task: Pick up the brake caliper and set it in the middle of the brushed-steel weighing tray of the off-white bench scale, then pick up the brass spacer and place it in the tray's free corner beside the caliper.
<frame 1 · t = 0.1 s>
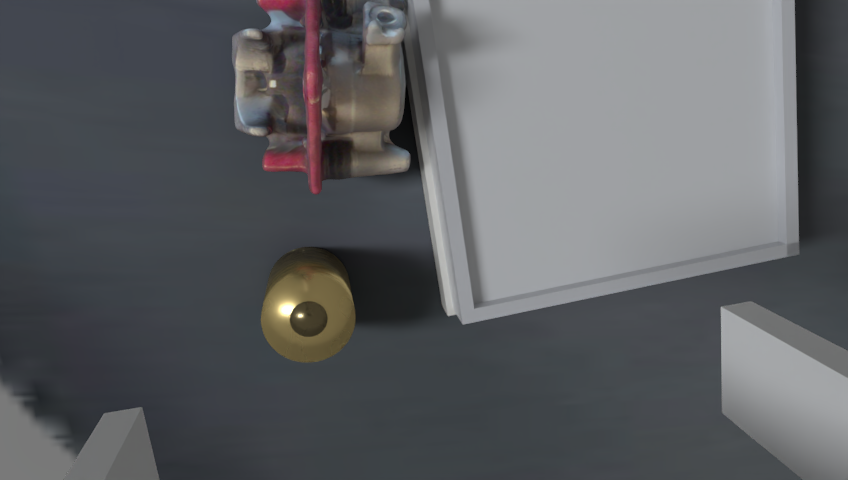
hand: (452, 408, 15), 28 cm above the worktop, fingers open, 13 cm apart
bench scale: (587, 105, 43), on the worktop
brass spacer: (309, 285, 43), on the worktop
brake caliper: (321, 83, 40), on the worktop
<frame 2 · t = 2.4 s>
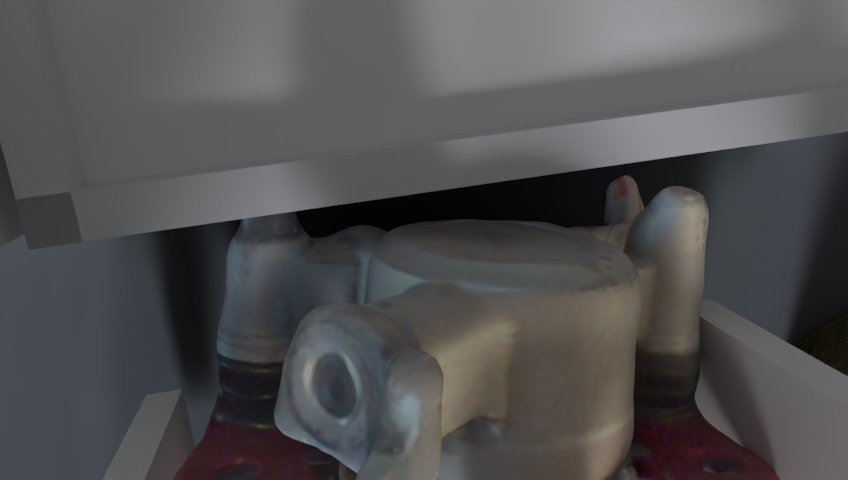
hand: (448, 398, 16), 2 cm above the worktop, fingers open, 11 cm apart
brake caliper: (441, 349, 18), on the worktop, touching gripper
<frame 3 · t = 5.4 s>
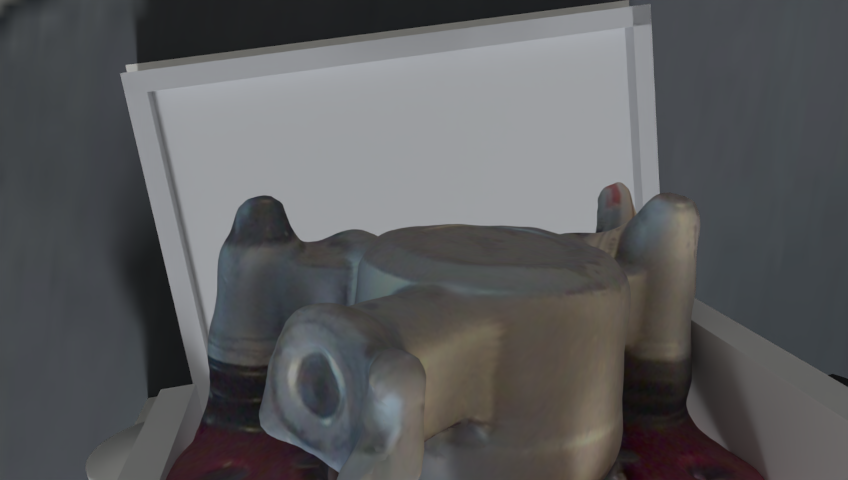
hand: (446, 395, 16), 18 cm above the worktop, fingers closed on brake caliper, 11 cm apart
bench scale: (415, 262, 34), on the worktop
brake caliper: (434, 355, 18), point 17 cm above the worktop, touching gripper
when the fingers open (7 cm above the worktop, at t = 8.2 s): brake caliper stays where it is, resting on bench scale.
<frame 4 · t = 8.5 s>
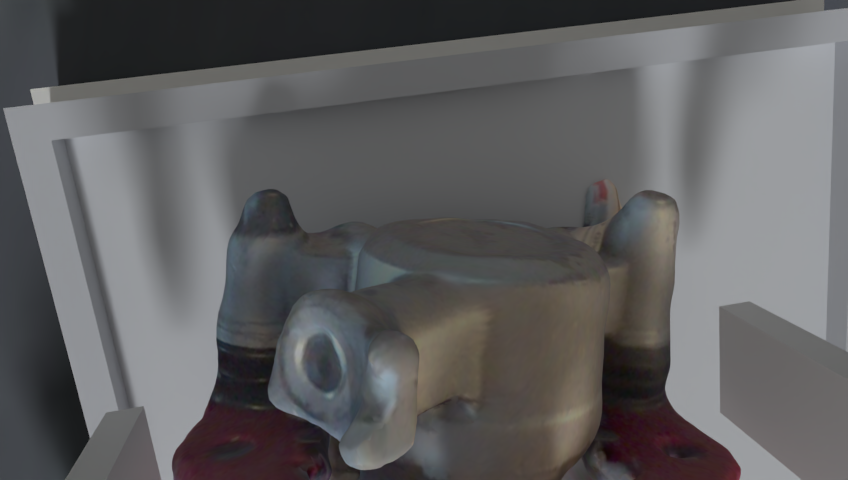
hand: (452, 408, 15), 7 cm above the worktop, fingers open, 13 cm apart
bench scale: (477, 378, 23), on the worktop
brake caliper: (429, 341, 19), point 4 cm above the worktop, touching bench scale
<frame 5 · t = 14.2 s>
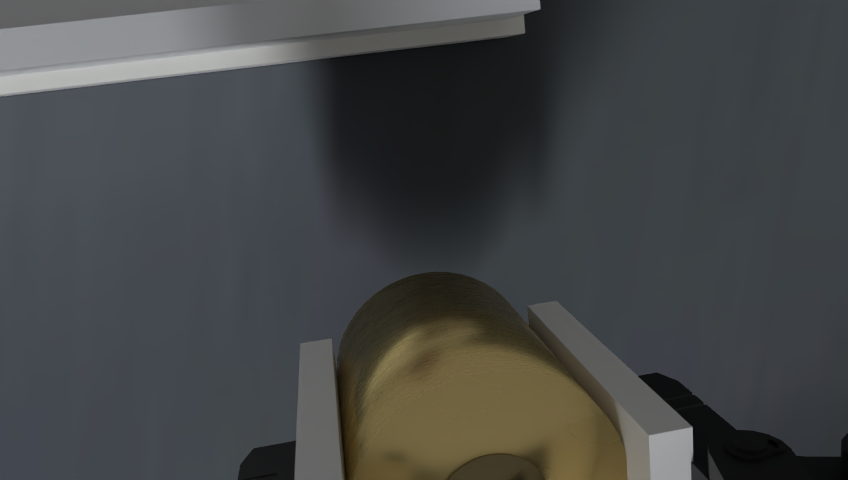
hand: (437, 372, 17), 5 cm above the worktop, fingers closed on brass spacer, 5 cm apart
brass spacer: (434, 365, 18), point 4 cm above the worktop, touching gripper
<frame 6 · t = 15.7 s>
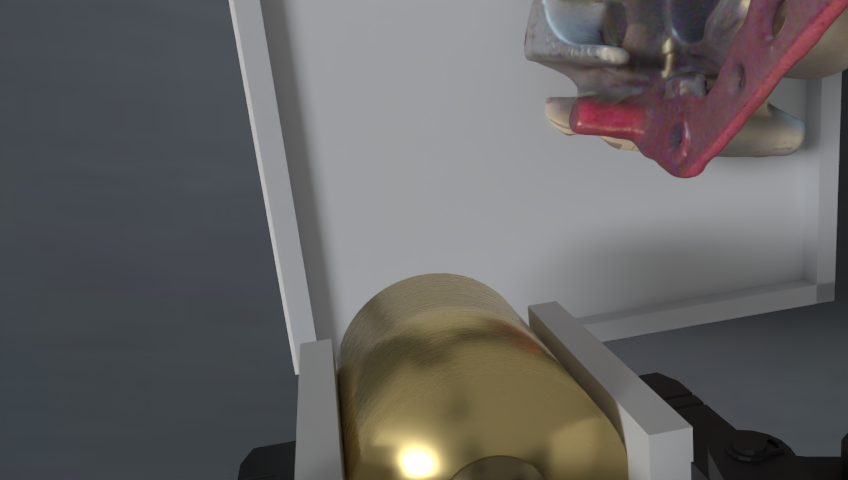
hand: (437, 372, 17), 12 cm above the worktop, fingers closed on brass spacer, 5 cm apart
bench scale: (522, 62, 28), on the worktop
brass spacer: (434, 366, 18), point 12 cm above the worktop, touching gripper
brake caliper: (646, 0, 25), point 4 cm above the worktop, touching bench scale
when the fingers open (5 cm above the worktop, at t = 17.2 s): brass spacer stays where it is, resting on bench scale.
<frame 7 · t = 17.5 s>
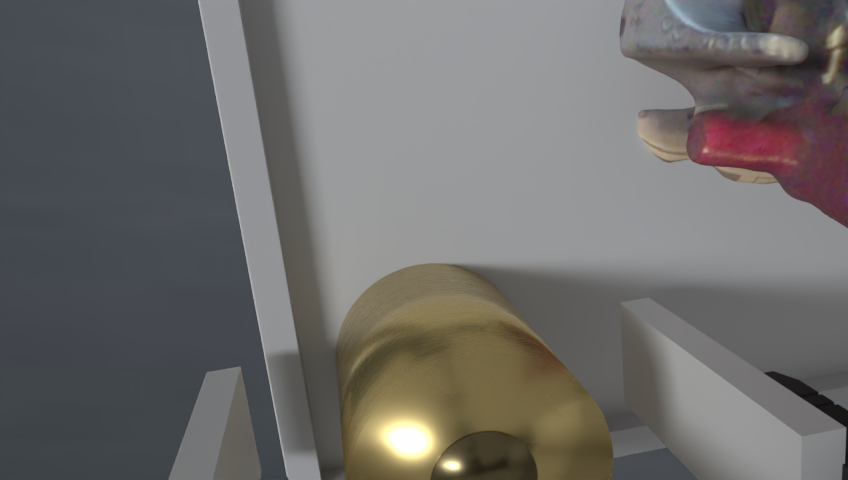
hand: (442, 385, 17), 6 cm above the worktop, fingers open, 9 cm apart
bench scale: (589, 59, 21), on the worktop
brass spacer: (430, 353, 18), point 4 cm above the worktop, touching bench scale
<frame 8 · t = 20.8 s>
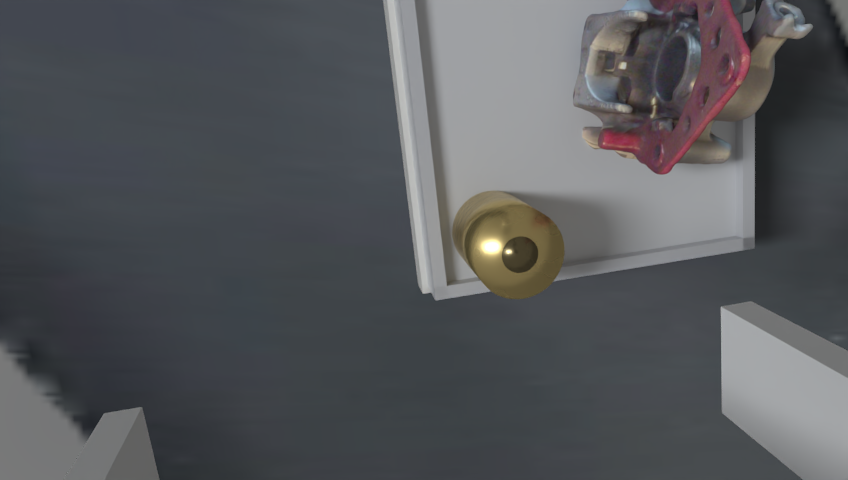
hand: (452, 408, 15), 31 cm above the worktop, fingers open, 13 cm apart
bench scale: (562, 101, 46), on the worktop
brass spacer: (491, 230, 43), point 4 cm above the worktop, touching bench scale
brake caliper: (642, 71, 42), point 4 cm above the worktop, touching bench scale
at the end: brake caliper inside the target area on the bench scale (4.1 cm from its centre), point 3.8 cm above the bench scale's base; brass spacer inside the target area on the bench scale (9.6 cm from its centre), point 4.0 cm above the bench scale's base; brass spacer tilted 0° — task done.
